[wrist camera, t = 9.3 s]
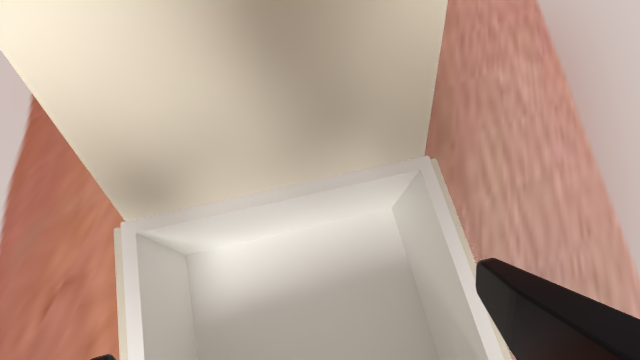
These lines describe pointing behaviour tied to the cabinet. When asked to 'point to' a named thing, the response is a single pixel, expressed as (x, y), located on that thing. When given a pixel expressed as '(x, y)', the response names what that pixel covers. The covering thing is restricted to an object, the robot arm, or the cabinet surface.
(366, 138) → the carton flap
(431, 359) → the carton
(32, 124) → the cabinet surface
